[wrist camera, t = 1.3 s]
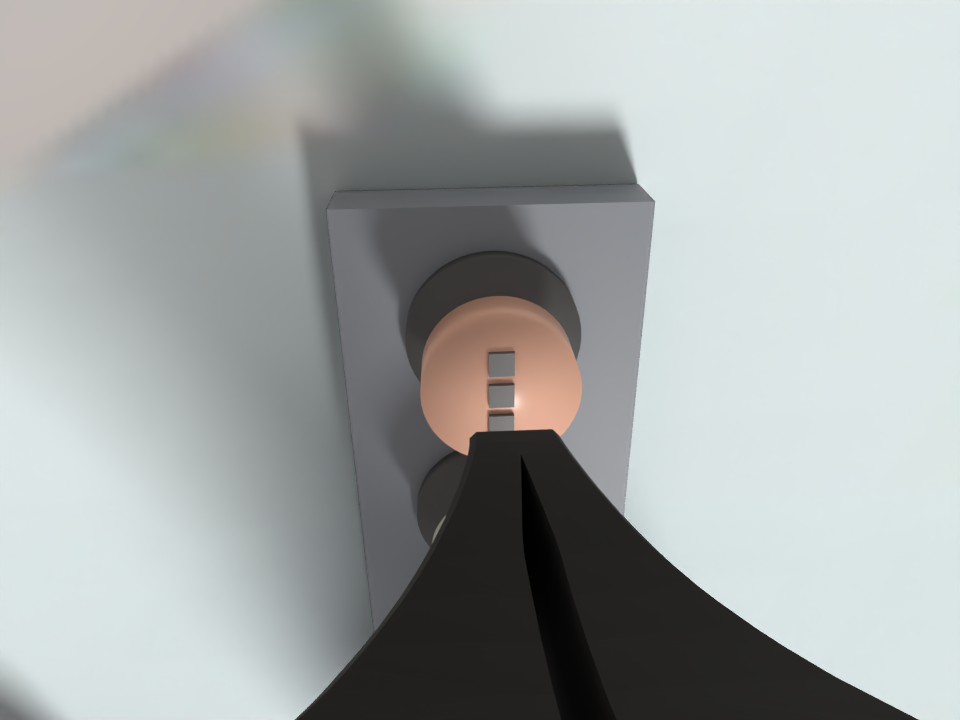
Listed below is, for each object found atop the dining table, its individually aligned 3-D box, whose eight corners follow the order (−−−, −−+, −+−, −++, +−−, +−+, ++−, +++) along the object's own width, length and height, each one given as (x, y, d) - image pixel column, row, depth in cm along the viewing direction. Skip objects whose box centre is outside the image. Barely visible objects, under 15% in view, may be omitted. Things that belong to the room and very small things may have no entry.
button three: (569, 426, 16) (578, 460, 15) (425, 431, 16) (424, 466, 15) (576, 293, 15) (587, 319, 14) (417, 298, 15) (415, 325, 13)
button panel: (596, 661, 24) (607, 711, 23) (386, 670, 24) (382, 722, 22) (638, 184, 17) (660, 206, 15) (335, 191, 17) (323, 215, 15)
